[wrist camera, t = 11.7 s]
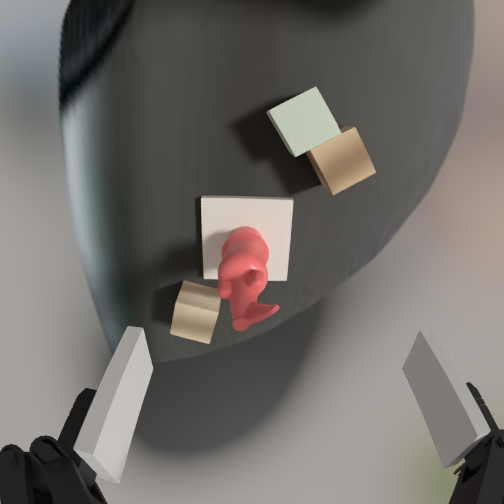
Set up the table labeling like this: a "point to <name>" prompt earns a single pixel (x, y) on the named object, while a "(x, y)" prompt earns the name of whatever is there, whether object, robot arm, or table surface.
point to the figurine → (244, 276)
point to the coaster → (252, 215)
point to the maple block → (195, 312)
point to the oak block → (341, 160)
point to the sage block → (304, 122)
